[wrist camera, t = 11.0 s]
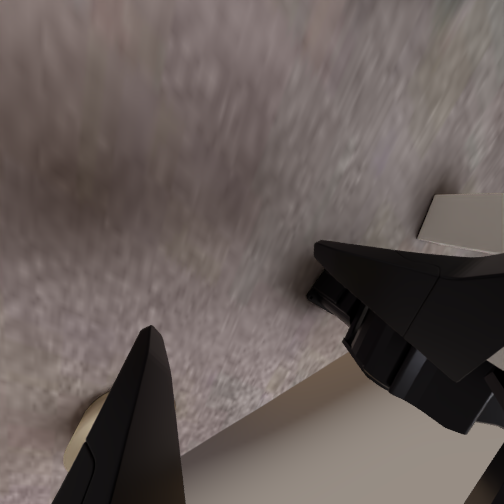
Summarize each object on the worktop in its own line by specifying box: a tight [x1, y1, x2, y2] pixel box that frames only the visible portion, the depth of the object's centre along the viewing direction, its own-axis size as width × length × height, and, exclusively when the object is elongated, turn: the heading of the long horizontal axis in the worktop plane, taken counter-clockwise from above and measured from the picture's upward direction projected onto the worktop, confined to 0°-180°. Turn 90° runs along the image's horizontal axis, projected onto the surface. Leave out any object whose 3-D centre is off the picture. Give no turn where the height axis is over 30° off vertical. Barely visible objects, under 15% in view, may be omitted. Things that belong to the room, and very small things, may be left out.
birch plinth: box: [63, 392, 176, 472], centre depth 21 cm, size 10×10×3 cm
